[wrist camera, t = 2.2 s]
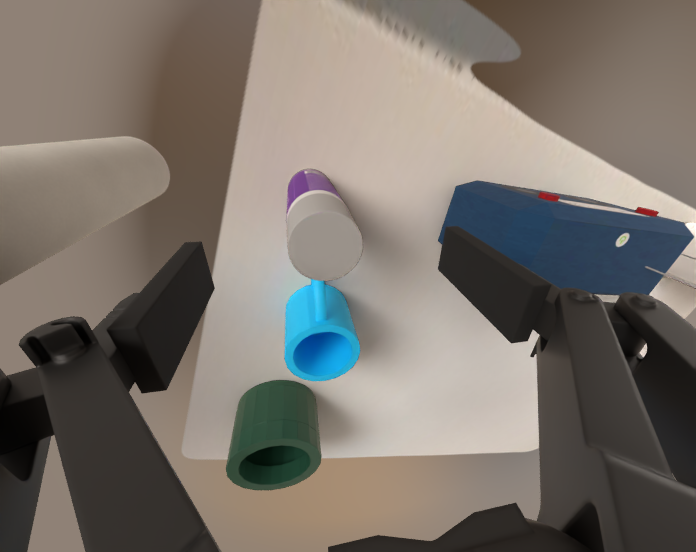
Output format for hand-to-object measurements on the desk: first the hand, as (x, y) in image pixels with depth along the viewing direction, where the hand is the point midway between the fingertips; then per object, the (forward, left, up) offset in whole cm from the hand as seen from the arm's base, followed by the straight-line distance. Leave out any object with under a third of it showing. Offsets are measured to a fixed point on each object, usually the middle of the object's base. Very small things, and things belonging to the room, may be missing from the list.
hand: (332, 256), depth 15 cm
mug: (+9, -10, -16) cm, 21 cm away
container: (0, 0, -16) cm, 16 cm away
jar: (+17, -30, -16) cm, 38 cm away
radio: (+22, +14, -16) cm, 31 cm away
